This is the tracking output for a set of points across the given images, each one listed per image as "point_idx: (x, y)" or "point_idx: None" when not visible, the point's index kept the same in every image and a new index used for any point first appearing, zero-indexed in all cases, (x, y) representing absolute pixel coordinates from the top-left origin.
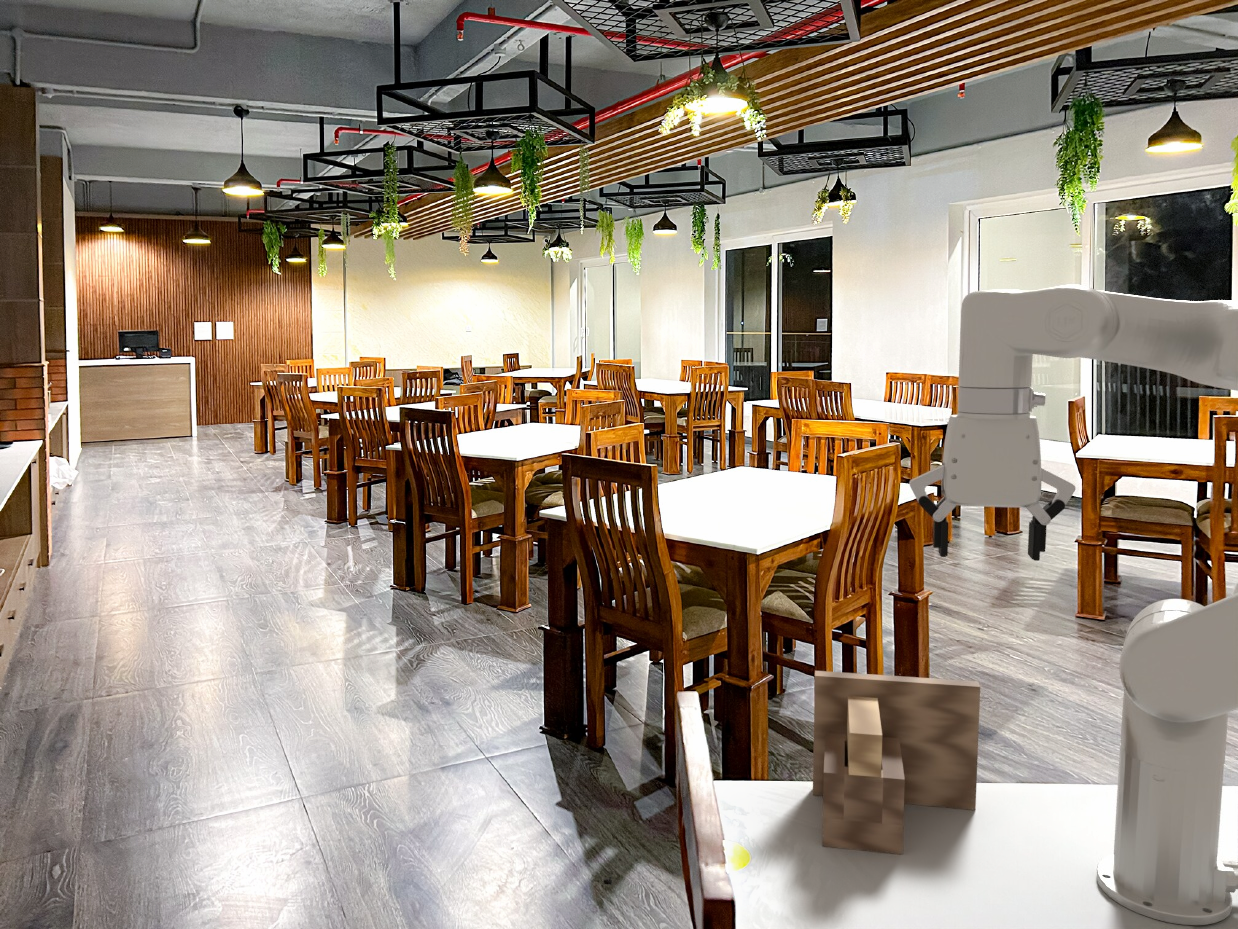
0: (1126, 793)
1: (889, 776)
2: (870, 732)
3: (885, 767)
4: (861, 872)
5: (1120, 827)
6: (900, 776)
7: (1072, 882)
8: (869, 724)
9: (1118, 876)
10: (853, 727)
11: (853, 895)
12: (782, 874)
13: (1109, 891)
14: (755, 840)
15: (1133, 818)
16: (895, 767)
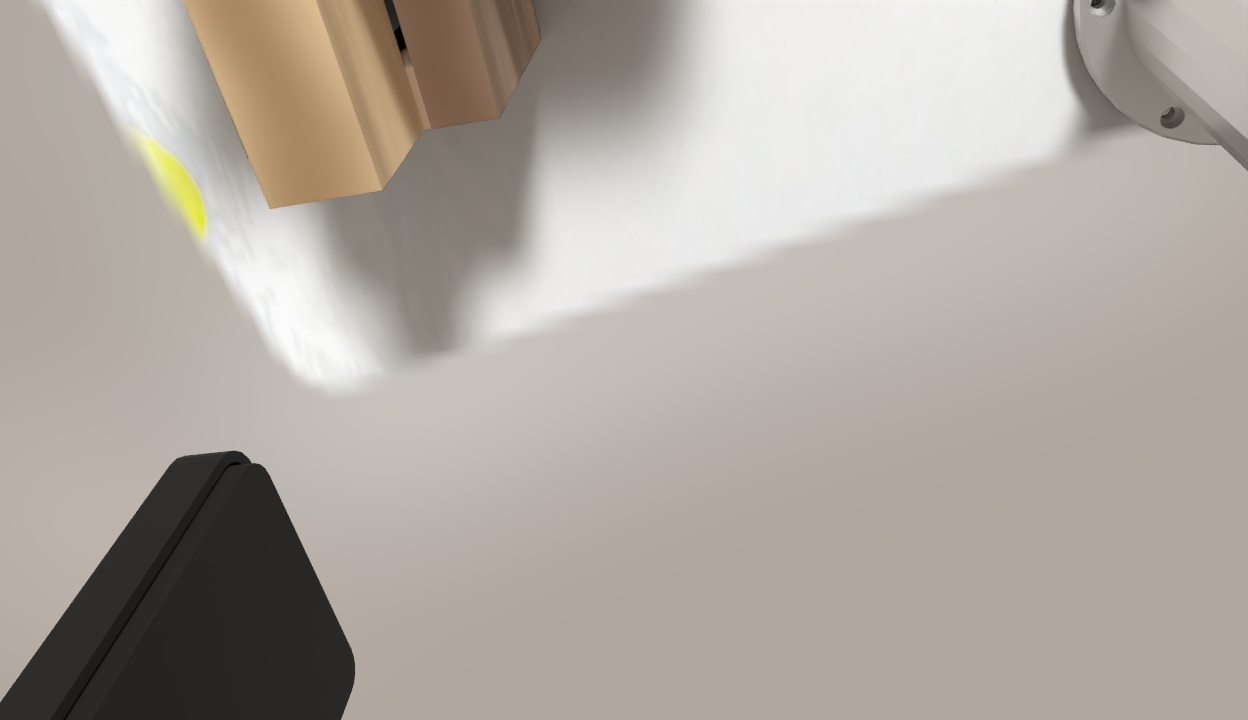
0: (1241, 143)
1: (447, 112)
2: (335, 179)
3: (416, 41)
4: (462, 157)
5: (1185, 77)
6: (480, 98)
7: (1002, 4)
8: (304, 101)
9: (1132, 37)
10: (261, 152)
11: (472, 260)
12: (297, 231)
13: (1089, 68)
14: (163, 98)
15: (1227, 148)
16: (448, 30)
